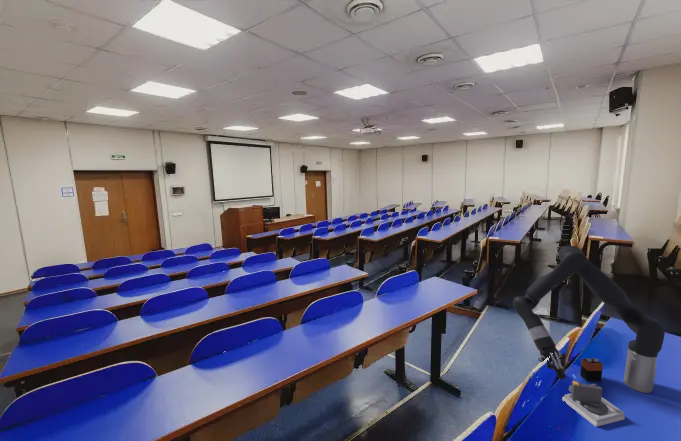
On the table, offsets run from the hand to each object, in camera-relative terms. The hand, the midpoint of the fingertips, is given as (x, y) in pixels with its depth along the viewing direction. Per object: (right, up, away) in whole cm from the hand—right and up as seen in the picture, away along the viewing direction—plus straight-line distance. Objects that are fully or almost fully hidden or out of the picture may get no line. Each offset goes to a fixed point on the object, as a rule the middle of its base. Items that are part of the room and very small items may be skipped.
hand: (563, 378), depth 129 cm
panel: (+7, -9, -6) cm, 13 cm away
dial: (+6, -8, -6) cm, 11 cm away
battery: (+22, -6, +11) cm, 25 cm away
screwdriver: (+13, -8, +5) cm, 16 cm away
